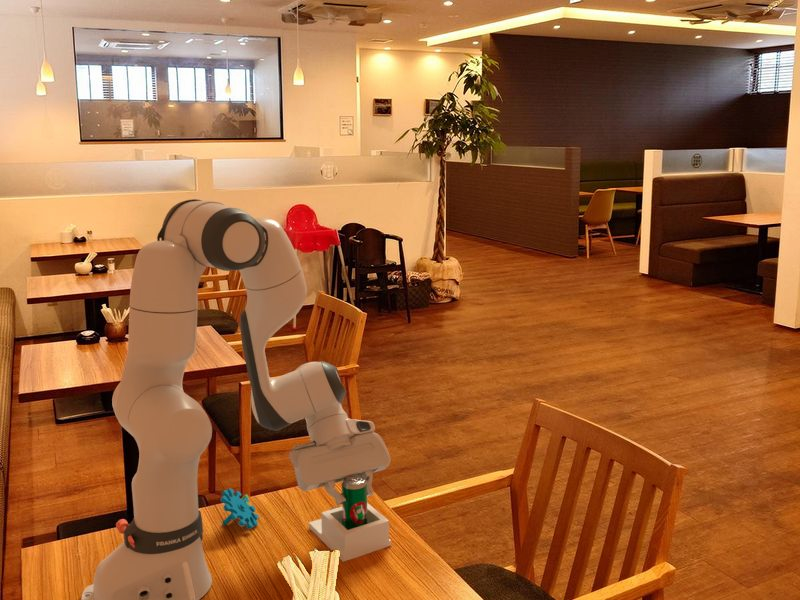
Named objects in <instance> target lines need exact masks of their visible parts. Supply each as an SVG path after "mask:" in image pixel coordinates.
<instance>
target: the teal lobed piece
mask: <svg viewBox="0 0 800 600" xmlns="http://www.w3.org/2000/svg"><path fill="white" fill-rule="evenodd" d="M220 493H221V495H222V496H221V498H220V502H221V503H222V504H224V505H223V510H224V511H225V512H229V513H230V514H229V515H228V516H227V517H226V518H224V519H223V520H222V523H221V524H222V525H223V526H227V525H228V524H229V522H231V521H235V520H236V519H239V521H238V522H237V524H238V525H239V526H240V527H241V528H244V527H246V528H247V529H248V530H251V529H252V528H253V527H256V526H257V525H258V524H259V522H258V521H257V520H259V515H258V514H257V513H255V512H256V508H255V507H256V506H254V505H251V504H250V500H249V495H248V494H244V495H242V493H241V492H240V491H239V490H236V492H235V491H234V489H233V488H230V487H229V488H228V489H224V490H223V491H222V492H220ZM241 496H242V497H241ZM240 497H241V498H240Z"/></svg>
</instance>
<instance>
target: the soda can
mask: <svg viewBox="0 0 800 600" xmlns="http://www.w3.org/2000/svg"><path fill="white" fill-rule="evenodd" d="M341 493H344V497H345V498H346V502H345V503H344V504H341V507H342V525H343V526H344V527H345V528H346V529H347V530H350V529H353V528H356V527H359V526H362V525H365V524H367V503H368V496H367V483H366V480H365V478H364V477H363V476H361V475H350V476H347V477H345V478H344V479H343V481H342V483H341Z"/></svg>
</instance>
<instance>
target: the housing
mask: <svg viewBox="0 0 800 600" xmlns="http://www.w3.org/2000/svg"><path fill="white" fill-rule="evenodd" d="M320 513H321V515H320V516H321V518H319V519H315V520H313V521H309V522H308V528H309V529H310V530H311V531H312V532H313V534H314V535H316V537H318V538H319V539H320V540H321V541H322V542H323V544H325V545H326V546H327V548H329V549H330V551H332V550H339V551H340V558H339V560H341V561H342V563H344V562H347V561H349V560H353V559H356V558H359V557H362V556H364V555H367V554H370V553H371V554H372V553H374V552H376V551H379V550H382V549H384V548H388V547H391V546H392V540H391V539H390V520H389V519H388V518H386V516H384V515H383V514H381V513H380V512H379V511H378V510H377V509H376V508H374V507H373V506H372V505H371V504H369V503H368V502H367V524H365V525H362V526H359V527H356V528H353V529H350V530H347V529H346V528H345V527H344V526H343V525H342V506H337V507H336V506H335V507H332V508H330V509H328V510H326V511H323V512H320Z"/></svg>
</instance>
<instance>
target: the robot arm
mask: <svg viewBox="0 0 800 600" xmlns="http://www.w3.org/2000/svg"><path fill="white" fill-rule="evenodd" d="M156 239H157V240H156V241H152V242H149V243H147V244H146V245H144V246H142V247H141V248H140V249H139V250H138V253H137V254H136V259H135V261H134V262H135V263H134V267H133V270H132V277H131V283H130V290H129V291H130V293H129V306H128V307H129V311H128V317H129V318H128V335H127V336H128V341H127V342H128V343H127V350H126V351H127V353H126V357H125V358H126V359H125V361H124V362H125V363H124V367H123V371H122V375H121V378H120V382H119V383H118V385H116V388H115V389H114V390H113V394H112V399H111V401H112V403H111V404H112V405H111V406H112V408H113V412H114V414H115V417H116V419H117V421H118V423H119V424H120V426H121V427H122V428H123V429H124V430H125V431H126V432H128V434H130V435H131V436H132V437H133V438H134V440H135V442H136V444H137V447H138V453H139V455H138V456H139V457H138V464H137V465H138V466H137V470H136V473H135V474H134V476H133V477H132V479H131V480H132V481H131V492H132V493H131V494H132V506H133V516H134V517H133V519H132V520H131V522H130V523H128V521H127V520H126V519H125V518H121V519H119V520H118V521H117V522H116V523H115V527H116V529H117V531H118V532H119V534H122V535H123V542H122V543H120V544H119V545H118V546H117V547H116V548H115V549H114V550H113V551H112V552H110V553H109V554H108V555H107V556H106V557H105V558H104V559H103V560H101V561H100V562H99V563H98V564H97V566H96V568H95V569H96V570H95V573H94V576H93V577H94V578H93V583H92V584H90V585H87V586H86V587H85V588H84V590H83V591H82V594H81V597H80V600H201V598H203V597H204V596H205V595H206V594H207V593H208V591H209V590H210V588H211V587H212V583H213V578H212V575H211V572H210V570H209V568H208V564H207V562H206V561H207V560H206V557H205V554H204V553H205V552H204V547H203V542H202V541H203V535H204V534H203V533H204V524H203V523H204V522H203V516H202V512H201V511H200V509H199V495H198V493H199V492H198V490H199V489H198V470H199V463H200V459H201V455H202V454H203V453H204V451H206V450H207V448H208V446H209V444H210V442H211V440H212V435H213V434H212V433H213V426H212V422H211V420H210V417H209V416H208V414H207V413H206V411H205V410H204V409H203V407H202V406H201V404H200V403H199V402H198V401H197V400H195V399H194V398H193V397H191V396H189V395H188V394H187V393H185V392H184V389H183V378H184V374H185V370H186V367H187V365H188V362H189V360H190V359H191V358H192V357H194V355H195V353H196V349H197V334H198V333H197V332H198V331H197V330H198V328H197V327H198V308H199V307H198V305H199V301H198V300H199V299H198V298H199V295H198V294H199V293H198V290H199V289H198V288H199V285H200V281H201V278H202V277H203V273H204V272H205V270H206V269H207V268H208V267H209V268H214V269H218V270H221V271H226V272H233V271H238V272H239V274H240V277H241V279H242V282H243V285H244V288H245V291H246V305H245V307H244V310H242V311H241V313H240V314H239V323H238V325H239V331H240V336H241V344H242V345H241V346H242V351H243V355H244V360H245V365H246V370H247V376H248V380H249V384H250V389H251V390H250V392H251V393H250V402H251V404H250V405H251V409H252V414H253V415H254V418H255V420H256V421H257V423H258V424H259V426H260V427H263V428H265V429H266V430H267V429H268V430H270V431H275V432H278V431H281V430H283V429H284V428H286V427H289V426H291V425H292V424H293V423H296V422H298V421H300V420H305V421H306V430H307V433H308V436H309V439H310V441H307V442H305V443H303V444H296V445H294V446H293V447H292V448H291V449H290V450H289V454H288V457H289V460H290V462H291V464H292V466H293V468H294V474H295V478H296V483H297V486H298V487H299V489H300V490H301V491H302V492H307V491H308V492H309V491H311V490H316V489H319V488H324V489H325V492H326V493H327V494H328V495H330V496H331V497H332V498H334V501H335V504H336V506H340V505H342V504H344V503H345V502H346V498H345V497H344V493H342V492H339V491H338V490H337V489H336V488H335V486H336V484H338V483H341V482H343V479H344V478H345V477H347V476H350V475H361V476H363V477H364V478H365V481H366V483H367V497H370V496H373V494H374V493H375V491H374V488H373V487H372V484H373V476H374V473H377V472H381V471H384V470H386V469H387V468H388V467H389V466H390V464H391V460H392V459H391V455H390V453H389V450H388V447H387V446H386V444H385V442H384V440H383V438H382V437H381V435H380V434H378V433H376V432H375V430H376V426H375V424H374V422H373V421H370V420H361V419H352V418H349V417H348V414H347V412H345V410H344V409H343V405H342V403H343V401H344V399H345V396H346V394H347V390H346V388H345V386H343V383H342V381H341V378H340V375H339V370H338V368H337V367H336V366H335V365H333V364H331V363H330V362H326V361H323V360H321V361H310V362H305V363H302V364H301V365H299V366H298V367H297V368H295V370H294V371H290V372H287V373H285V374H283V375H279V376H277V377H270V374H269V373H270V372H269V367H268V362H267V357H266V352H265V351H266V346H267V344H268V342H269V340H270V339H271V338H272V337H273V336H274V335H275V333H277V332H278V331H279V330H280V329H281V328H283V326H285V325H286V324H287V323H289V322H290V321H291V320H293V318H295V317H296V316H297V314H298V313H300V310H301V309H302V308H303V305H304V304H305V302H306V299H307V294H308V288H307V281H306V278H305V274H304V270H303V267H302V265H301V261H300V260H299V257H298V254H297V252H296V250H295V248H294V246H293V244H292V242H291V240H290V238H289V236H288V234H287V232H286V231H285V229H284V228H283V226H282V225H281V223H279V222H278V220H275V219H272V218H269V217H258V218H257V217H256V218H254V217H253V216H252V215H251V214H250V213H248V212H246V210H245V211H244V210H243V209H240V208H237V207H232V206H230V205H229V206H228V205H227V204H226V205H225V204H223V203H222V202H219V201H218V202H217V201H212V200H201V199H196V198H194V199H186V200H182V201H180V202H178V203H177V204H174V205H173V206H172V207H171V208H170V209H169V211H167V214H166V215H165V217H164V219H163V221H162V226H161V228H160V230H159V231H158V233H157V237H156Z"/></svg>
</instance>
